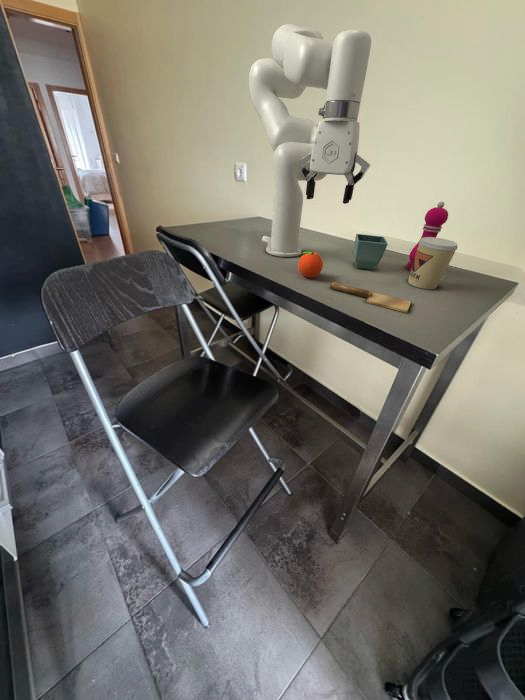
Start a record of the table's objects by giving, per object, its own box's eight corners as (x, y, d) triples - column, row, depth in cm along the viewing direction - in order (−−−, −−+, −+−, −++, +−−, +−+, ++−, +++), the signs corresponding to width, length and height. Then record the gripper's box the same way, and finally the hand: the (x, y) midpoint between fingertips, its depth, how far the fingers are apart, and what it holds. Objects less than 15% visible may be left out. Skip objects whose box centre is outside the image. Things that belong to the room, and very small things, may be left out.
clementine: (290, 277, 81) (293, 252, 77) (296, 270, 86) (299, 246, 82) (318, 282, 79) (322, 257, 75) (322, 275, 84) (327, 250, 80)
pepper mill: (401, 269, 92) (424, 200, 81) (409, 264, 97) (432, 198, 85) (424, 275, 89) (452, 204, 77) (431, 270, 93) (459, 202, 82)
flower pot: (379, 273, 88) (388, 243, 83) (350, 269, 89) (357, 240, 84) (376, 264, 95) (384, 236, 90) (349, 261, 96) (355, 233, 91)
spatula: (326, 291, 74) (327, 285, 73) (333, 284, 78) (334, 278, 77) (406, 313, 66) (409, 306, 65) (410, 303, 71) (412, 297, 69)
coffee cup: (400, 277, 86) (414, 235, 79) (430, 279, 86) (447, 237, 79) (412, 289, 78) (429, 244, 72) (446, 291, 79) (466, 247, 72)
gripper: (298, 112, 64) (290, 198, 73) (376, 111, 57) (356, 206, 66) (311, 116, 69) (302, 196, 79) (384, 116, 62) (364, 203, 72)
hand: (327, 200), depth 72 cm, fingers open, 9 cm apart
